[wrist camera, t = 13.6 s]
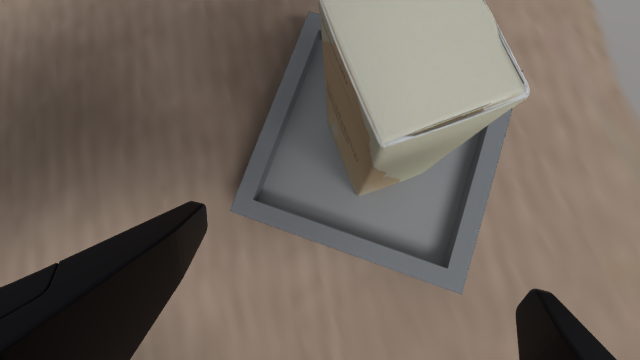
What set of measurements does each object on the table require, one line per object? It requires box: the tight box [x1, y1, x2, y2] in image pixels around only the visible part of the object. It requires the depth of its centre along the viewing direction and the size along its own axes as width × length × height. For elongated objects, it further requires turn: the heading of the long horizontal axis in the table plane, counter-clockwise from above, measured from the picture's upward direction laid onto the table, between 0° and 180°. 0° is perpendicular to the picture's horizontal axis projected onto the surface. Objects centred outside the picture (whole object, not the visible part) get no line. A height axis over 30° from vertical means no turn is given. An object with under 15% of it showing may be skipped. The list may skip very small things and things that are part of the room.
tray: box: [230, 11, 523, 295], centre depth 20 cm, size 13×13×2 cm
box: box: [319, 0, 530, 196], centre depth 14 cm, size 5×4×11 cm
